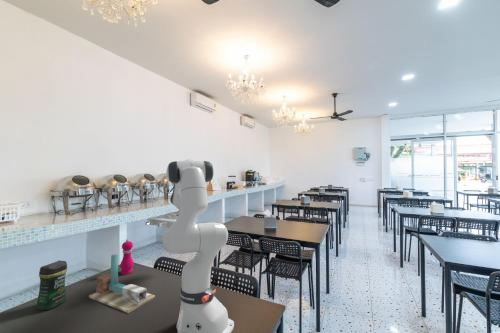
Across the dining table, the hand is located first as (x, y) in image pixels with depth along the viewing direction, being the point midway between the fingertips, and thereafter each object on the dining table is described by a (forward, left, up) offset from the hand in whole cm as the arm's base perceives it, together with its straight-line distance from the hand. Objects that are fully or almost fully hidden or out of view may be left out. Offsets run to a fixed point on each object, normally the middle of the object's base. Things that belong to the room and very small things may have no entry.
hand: (152, 224), depth 124 cm
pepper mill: (+26, -5, -32) cm, 42 cm away
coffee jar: (+24, +33, -32) cm, 52 cm away
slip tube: (+5, +15, -29) cm, 33 cm away
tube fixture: (+2, +15, -32) cm, 35 cm away
